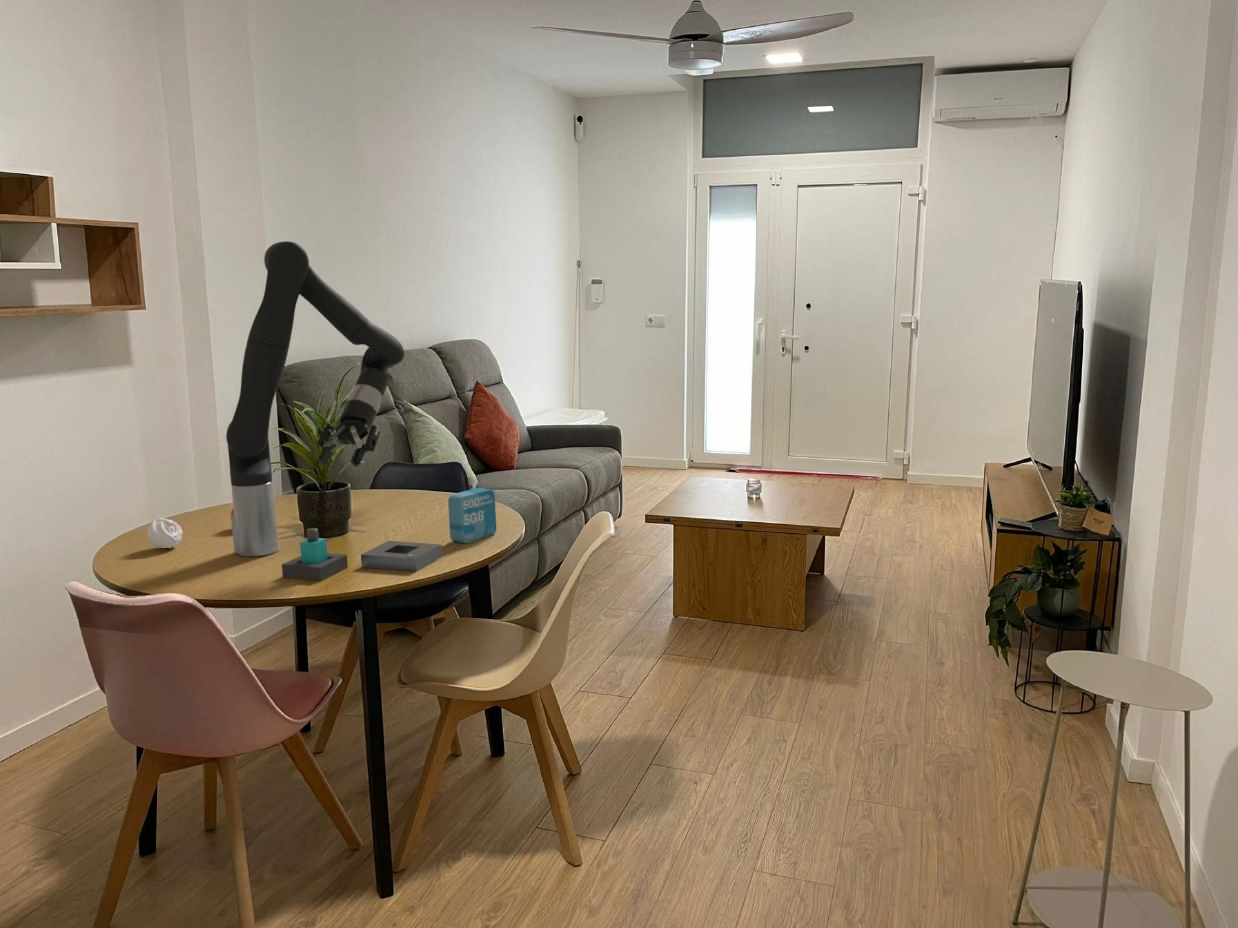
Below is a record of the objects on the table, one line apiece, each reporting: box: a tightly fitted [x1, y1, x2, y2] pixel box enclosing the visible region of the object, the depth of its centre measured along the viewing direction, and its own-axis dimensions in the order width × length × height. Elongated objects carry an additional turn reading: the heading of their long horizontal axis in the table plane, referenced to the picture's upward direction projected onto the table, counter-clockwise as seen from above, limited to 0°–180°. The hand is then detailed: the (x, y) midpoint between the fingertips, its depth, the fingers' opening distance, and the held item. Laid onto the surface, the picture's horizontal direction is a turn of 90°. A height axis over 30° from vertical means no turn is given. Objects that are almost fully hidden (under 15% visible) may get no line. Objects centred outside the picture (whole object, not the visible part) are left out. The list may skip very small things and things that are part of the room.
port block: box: [360, 540, 443, 573], centre depth 216 cm, size 14×12×3 cm
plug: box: [299, 527, 328, 564], centre depth 209 cm, size 4×4×10 cm
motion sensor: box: [146, 517, 183, 549], centre depth 231 cm, size 8×8×8 cm
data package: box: [447, 487, 497, 544], centre depth 235 cm, size 12×4×12 cm, turn 143°
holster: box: [281, 552, 348, 582], centre depth 210 cm, size 10×10×3 cm
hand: (338, 464), depth 217 cm, fingers open, 8 cm apart
